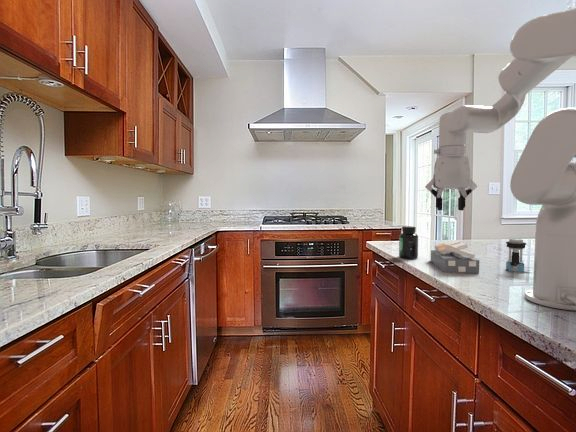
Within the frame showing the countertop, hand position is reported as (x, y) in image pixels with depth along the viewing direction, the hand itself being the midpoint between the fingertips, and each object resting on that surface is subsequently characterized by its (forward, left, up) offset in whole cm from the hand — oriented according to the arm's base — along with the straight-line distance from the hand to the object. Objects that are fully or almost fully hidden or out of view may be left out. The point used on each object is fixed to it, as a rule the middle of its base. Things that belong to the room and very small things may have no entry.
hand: (450, 209), depth 107 cm
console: (+6, -3, -20) cm, 21 cm away
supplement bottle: (+20, +9, -20) cm, 30 cm away
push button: (+2, -21, -20) cm, 29 cm away
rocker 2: (+6, -3, -14) cm, 15 cm away
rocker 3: (0, -3, -14) cm, 14 cm away
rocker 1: (+12, -3, -14) cm, 18 cm away
